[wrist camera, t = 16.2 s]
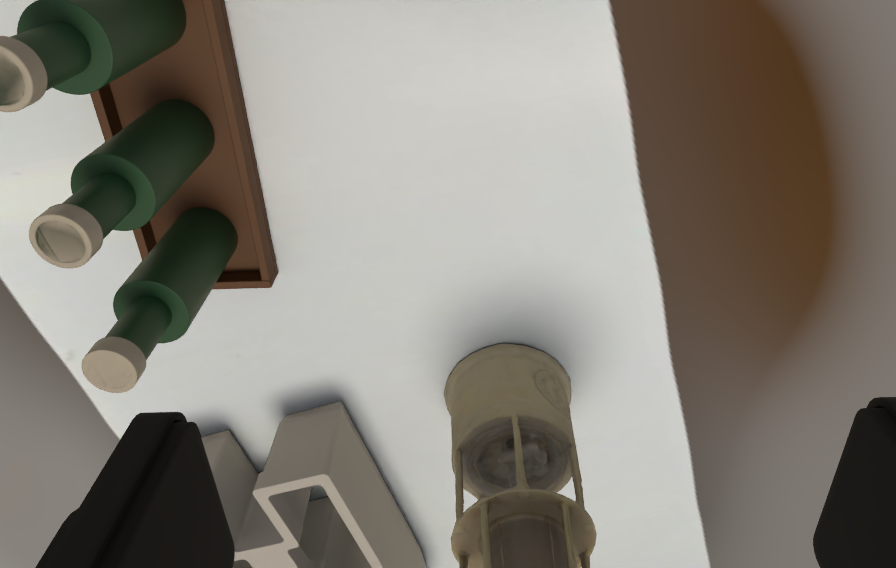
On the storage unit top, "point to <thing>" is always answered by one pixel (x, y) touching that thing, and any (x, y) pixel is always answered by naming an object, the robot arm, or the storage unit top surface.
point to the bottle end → (161, 297)
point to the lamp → (515, 462)
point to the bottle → (83, 45)
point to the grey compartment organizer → (315, 522)
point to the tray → (232, 158)
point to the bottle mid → (124, 182)
